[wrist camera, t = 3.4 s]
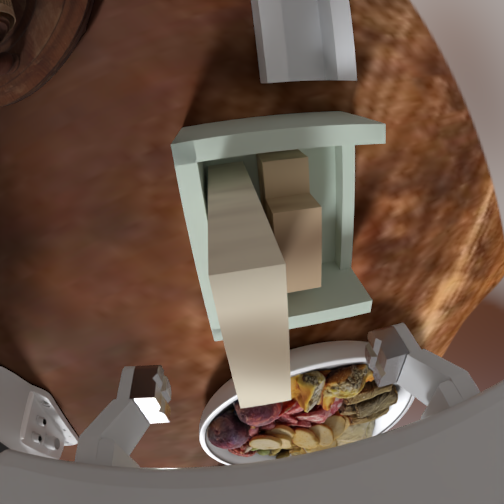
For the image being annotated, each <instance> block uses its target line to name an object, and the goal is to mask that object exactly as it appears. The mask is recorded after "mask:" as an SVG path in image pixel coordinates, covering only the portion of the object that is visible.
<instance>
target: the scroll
mask: <svg viewBox="0 0 504 504" xmlns="http://www.w3.org/2000/svg"><path fill="white" fill-rule="evenodd" d="M93 3H94V0H0V107H2V106H7V105H10V104H13V103H16V102H18V101H20V100H23V99H24V98H26V97H28V96H30V95H31V94H33V93H34V92H36V91H37V90H38V89H39V88H41V87H42V86H43V85H44V84H45V83H46V82H48V81H49V80H50V79H51V78H52V77H53V76H54V75H55V73H56V72H57V71H58V70H59V69H60V68H61V67H62V65H63V64H64V63H65V61H66V60H67V59H68V57H69V56H70V54H71V53H72V51H73V50H74V48H75V47H76V45H77V43H78V41H79V40H80V38H81V36H82V35H83V34H84V33H85V32H86V25H87V22H88V20H89V17H90V14H91V11H92V7H93Z"/></svg>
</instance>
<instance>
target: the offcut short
mask: <svg viewBox="0 0 504 504" xmlns="http://www.w3.org/2000/svg"><path fill="white" fill-rule="evenodd" d="M266 205H267V216H268V222H269V224H270V227H271V229H272V232H273V234H274V237H275V239H276V241H277V244H278V246H279V249H280V251H281V254H282V256H283V259H284V261H285V264H286V281H287V293H290V292H296V291H301V290H307V289H313V288H318V287H321V270H322V207H321V206H320V204H319V203H318V202H317V201H316V200H315V199H314V197H313V196H312V195H311V194H310V193H306V194H298V195H290V196H283V197H275V198H268V199H266Z"/></svg>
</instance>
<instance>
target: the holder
mask: <svg viewBox="0 0 504 504" xmlns="http://www.w3.org/2000/svg"><path fill="white" fill-rule="evenodd" d="M251 6H252V14H253V22H254V30H255V38H256V47H257V55H258V64H259V73H260V82H261V83H276V82H289V81H313V80H348V81H357V71H356V59H355V47H354V37H353V28H352V20H351V12H350V4H349V0H251Z"/></svg>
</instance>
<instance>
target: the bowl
mask: <svg viewBox="0 0 504 504" xmlns="http://www.w3.org/2000/svg"><path fill="white" fill-rule="evenodd" d="M367 343H368V342H364V341H330V342H323V343H317V344H311V345H306V346H302V347H298V348H295V349H291V350H290V375H291V400H289V401H284V402H278V403H273V404H267V405H261V406H255V407H248V408H240V405H239V401H238V397H237V393H236V389H235V386H234V382H233V378H231V379H230V380H229V381H227V382H226V383H225V384H224V385H223V386H222V387H221V388H220V389H219V390H218V391H217V392H216V393H215V394H214V395H213V396H212V398H211V399H210V400H209V402H208V403H207V405H206V407H205V409H204V411H203V413H202V416H201V420H200V425H199V439H200V443H201V446H202V448H203V449H204V451H205V452H206V453H207V454H208V455H209V456H210V457H212V458H213V459H215V460H217V461H218V462H220V463H223V464H225V465H234V464H243V463H251V462H259V461H266V460H273V459H279V458H285V457H290V456H296V455H301V454H306V453H311V452H315V451H320V450H324V449H328V448H332V447H336V446H340V445H344V444H348V443H352V442H355V441H359V440H362V439H366V438H369V437H372V436H375V435H379V434H382V433H385V432H387V431H388V430H389V429H390V428H391V427H392V426H394V425H395V424H396V423H397V422H398V421H399V420H400V419H401V418H402V416H403V415H404V414H405V413H406V412H407V410H408V408H409V407H410V406H411V404H412V402H413V400H414V398H415V397H414V396H413V395H412V394H410V393H409V392H408V391H406V390H405V389H404V388H402V387H401V386H399V385H398V384H397V383H393V384H389V385H386V386H382V387H378V386H377V384H376V381H375V379H374V377H373V372H374V370H373V369H371V368H370V367H369V366H368V364H367V362H366V358H365V347H366V345H367Z"/></svg>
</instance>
